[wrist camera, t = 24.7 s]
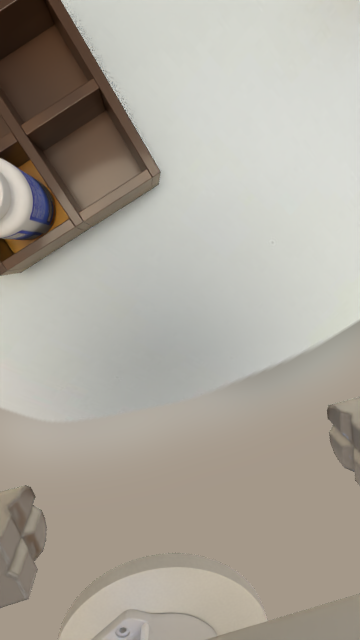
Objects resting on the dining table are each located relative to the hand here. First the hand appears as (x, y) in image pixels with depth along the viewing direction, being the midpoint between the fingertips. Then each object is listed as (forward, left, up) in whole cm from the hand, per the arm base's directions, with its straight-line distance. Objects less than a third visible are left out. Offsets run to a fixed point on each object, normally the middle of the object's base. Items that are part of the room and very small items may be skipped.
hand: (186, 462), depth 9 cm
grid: (-1, +18, -25) cm, 30 cm away
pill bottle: (-5, +14, -24) cm, 28 cm away
